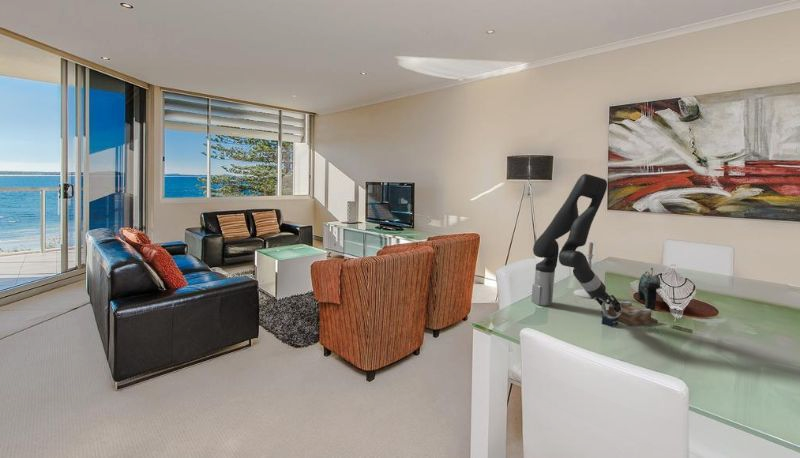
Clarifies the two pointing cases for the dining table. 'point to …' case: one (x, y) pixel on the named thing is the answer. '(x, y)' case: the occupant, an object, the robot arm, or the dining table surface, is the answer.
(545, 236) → the robot arm
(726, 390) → the dining table surface
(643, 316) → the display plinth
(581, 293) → the candlestick
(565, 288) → the dining table surface
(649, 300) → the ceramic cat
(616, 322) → the watch
